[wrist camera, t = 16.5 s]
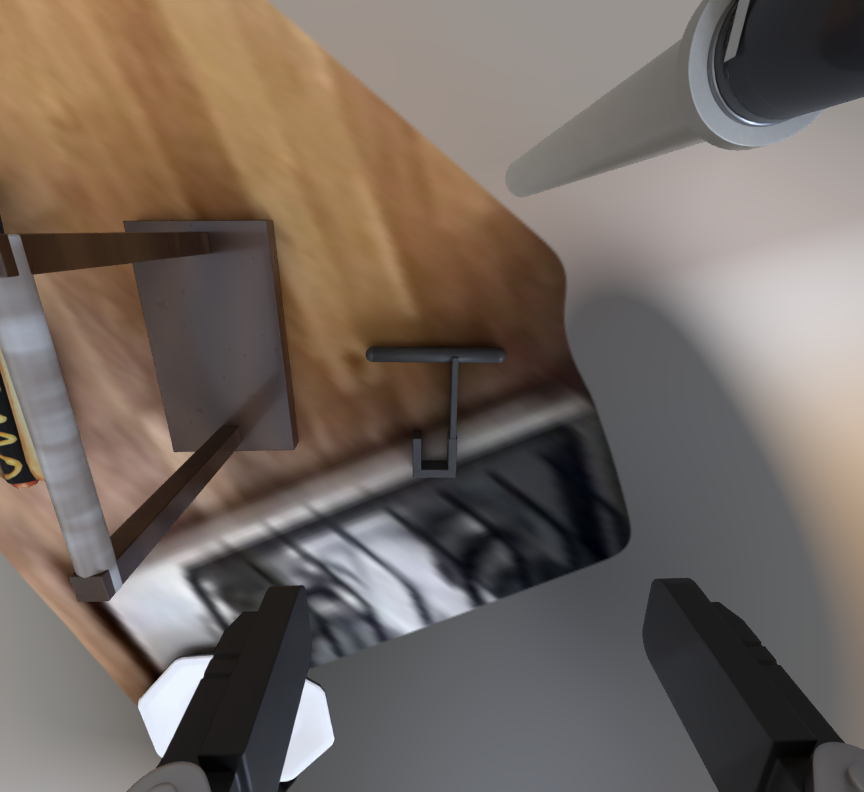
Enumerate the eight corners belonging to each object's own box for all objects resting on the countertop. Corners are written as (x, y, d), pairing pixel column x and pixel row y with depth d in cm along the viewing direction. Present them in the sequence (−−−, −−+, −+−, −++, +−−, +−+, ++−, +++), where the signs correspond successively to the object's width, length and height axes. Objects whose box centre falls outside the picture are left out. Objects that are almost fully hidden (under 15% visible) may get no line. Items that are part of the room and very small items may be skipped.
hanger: (508, 350, 36) (499, 477, 40) (504, 345, 37) (496, 468, 41) (364, 349, 36) (369, 477, 39) (366, 344, 37) (371, 468, 41)
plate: (177, 775, 54) (170, 790, 53) (127, 650, 47) (118, 663, 46) (344, 763, 54) (341, 777, 53) (318, 636, 47) (315, 649, 46)
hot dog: (60, 311, 36) (5, 323, 31) (95, 464, 40) (52, 495, 35) (-7, 308, 35) (-73, 320, 31) (36, 462, 40) (-15, 493, 35)
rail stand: (273, 220, 34) (111, 210, 16) (298, 442, 40) (202, 611, 22) (135, 221, 34) (-183, 212, 16) (182, 444, 40) (-9, 616, 22)
